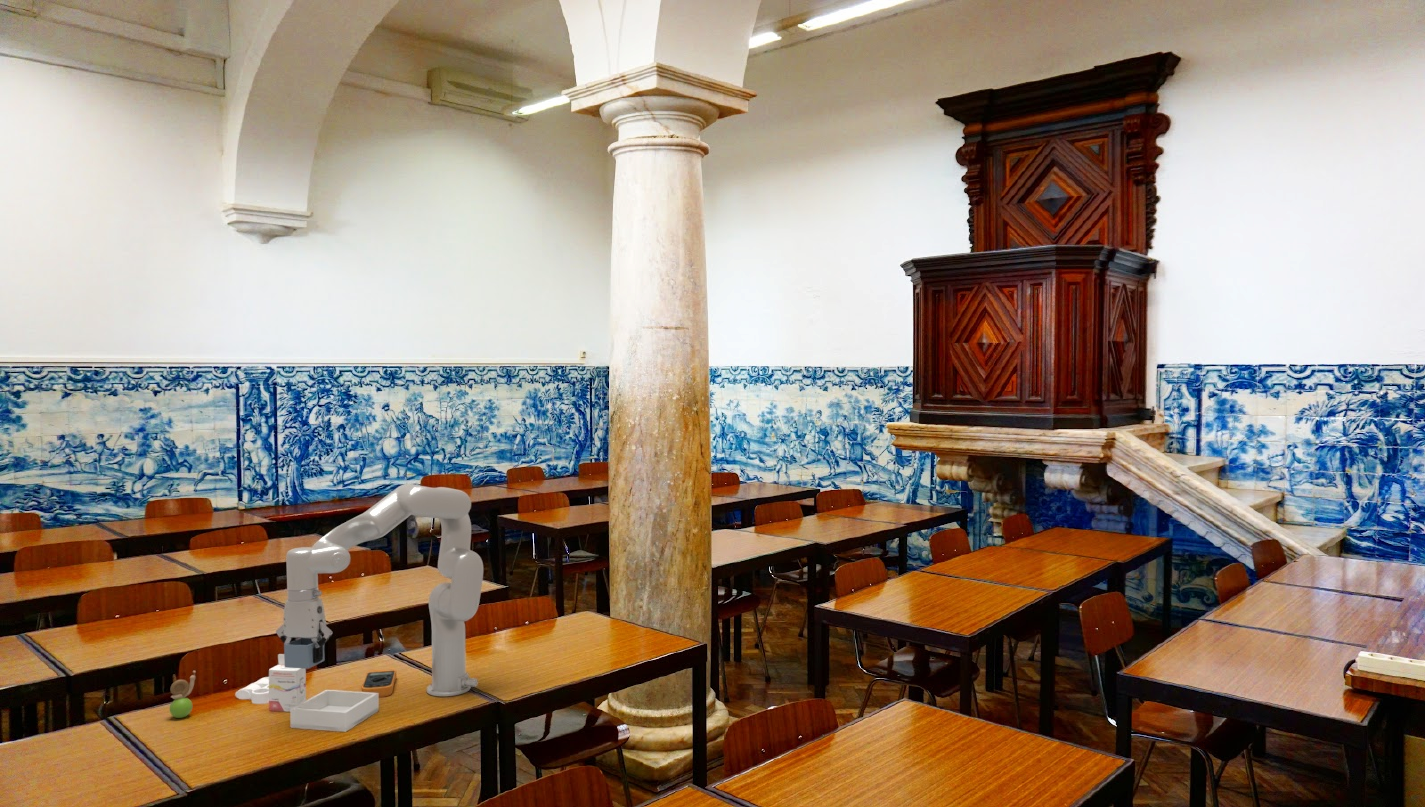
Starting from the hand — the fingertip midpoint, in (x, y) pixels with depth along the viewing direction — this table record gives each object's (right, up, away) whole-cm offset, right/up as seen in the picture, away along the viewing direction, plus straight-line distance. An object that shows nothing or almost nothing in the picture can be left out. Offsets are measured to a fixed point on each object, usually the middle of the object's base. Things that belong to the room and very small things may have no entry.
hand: (305, 660), depth 251 cm
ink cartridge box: (-10, -17, +12) cm, 23 cm away
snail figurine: (-36, -17, +6) cm, 40 cm away
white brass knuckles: (-21, -17, +25) cm, 37 cm away
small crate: (0, -1, 0) cm, 1 cm away
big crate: (+7, -17, +4) cm, 19 cm away
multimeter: (+9, -17, +30) cm, 36 cm away
